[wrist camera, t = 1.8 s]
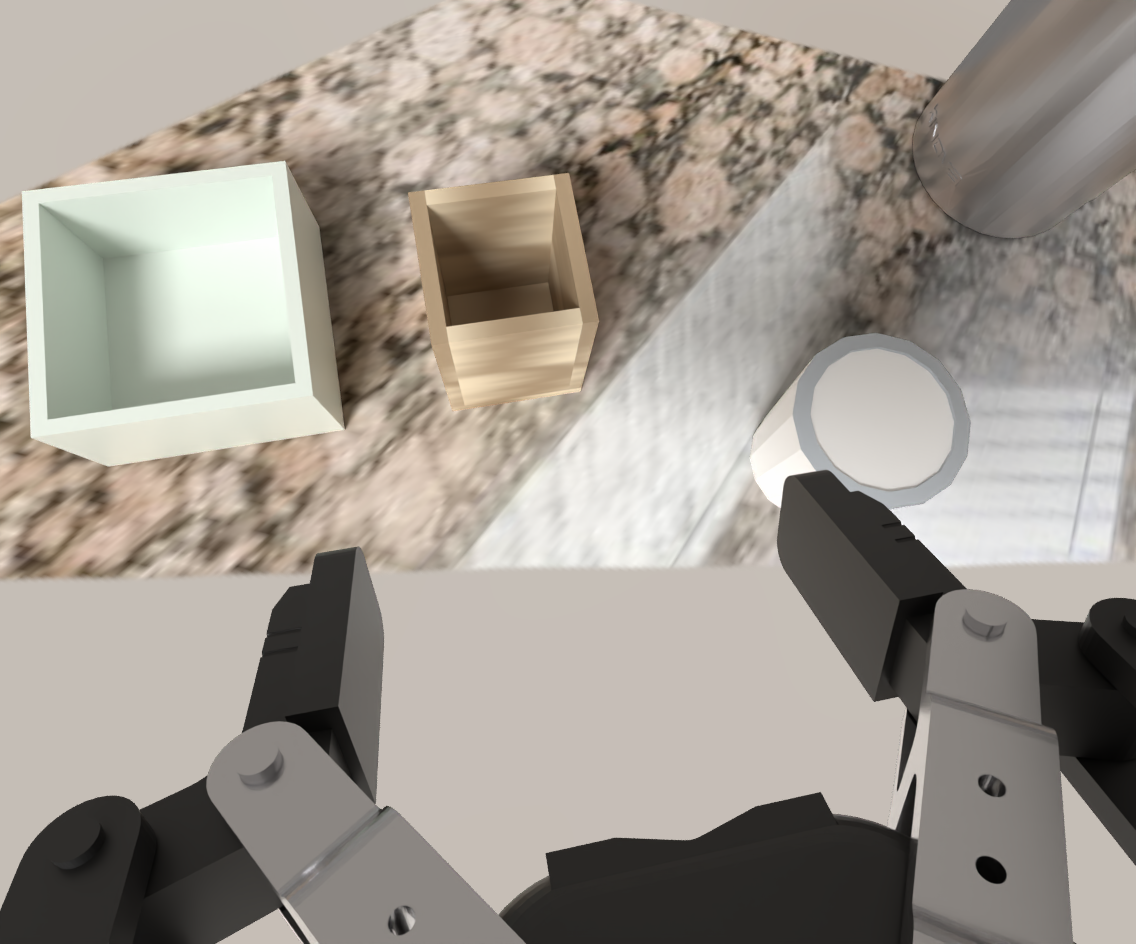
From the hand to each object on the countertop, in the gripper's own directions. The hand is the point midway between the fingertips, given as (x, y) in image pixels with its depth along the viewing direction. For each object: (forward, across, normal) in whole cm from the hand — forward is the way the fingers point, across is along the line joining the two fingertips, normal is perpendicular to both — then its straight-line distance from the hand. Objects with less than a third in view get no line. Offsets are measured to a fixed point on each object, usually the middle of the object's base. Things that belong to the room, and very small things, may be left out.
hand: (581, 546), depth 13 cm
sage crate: (+23, +13, +3) cm, 26 cm away
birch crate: (+21, 0, +4) cm, 22 cm away
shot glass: (+16, -13, +10) cm, 23 cm away
